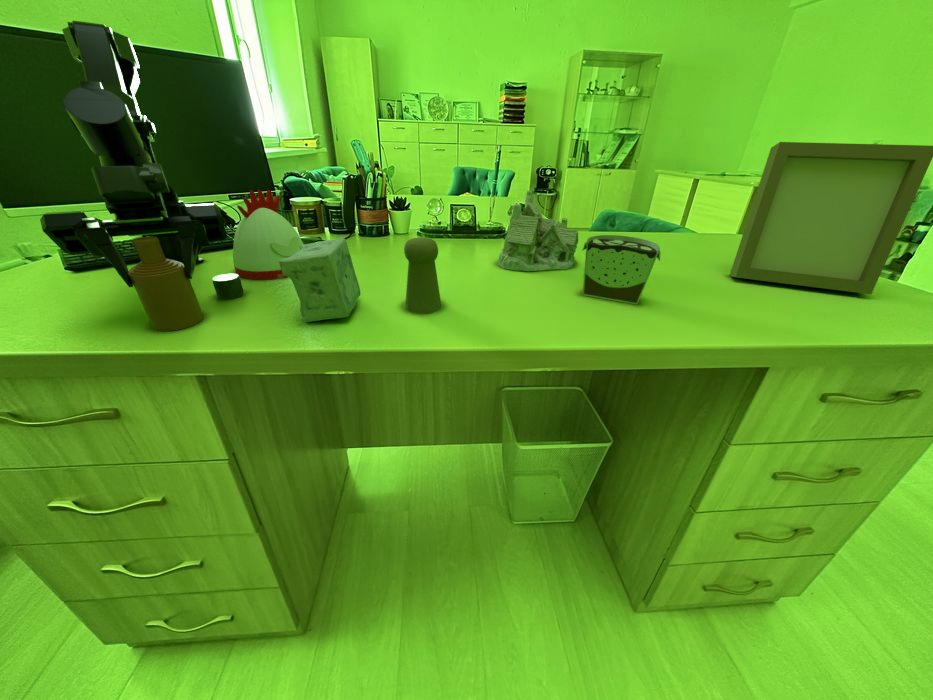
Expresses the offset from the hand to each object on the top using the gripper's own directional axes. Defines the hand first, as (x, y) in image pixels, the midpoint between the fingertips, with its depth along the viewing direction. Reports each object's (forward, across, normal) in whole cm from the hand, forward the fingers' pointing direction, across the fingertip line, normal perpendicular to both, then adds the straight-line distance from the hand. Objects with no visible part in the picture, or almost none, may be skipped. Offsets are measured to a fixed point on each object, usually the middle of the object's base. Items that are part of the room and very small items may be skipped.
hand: (160, 281), depth 50 cm
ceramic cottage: (+7, +67, +3) cm, 67 cm away
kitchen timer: (-10, +16, +20) cm, 27 cm away
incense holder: (+9, +20, +1) cm, 22 cm away
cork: (+13, +34, -4) cm, 36 cm away
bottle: (+4, 0, +6) cm, 7 cm away
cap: (-2, +7, +11) cm, 14 cm away
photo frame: (+31, +106, -22) cm, 113 cm away
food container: (+22, +66, -12) cm, 71 cm away
